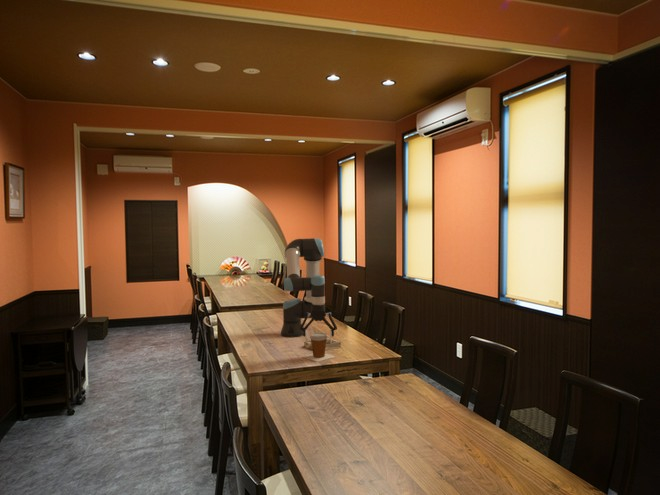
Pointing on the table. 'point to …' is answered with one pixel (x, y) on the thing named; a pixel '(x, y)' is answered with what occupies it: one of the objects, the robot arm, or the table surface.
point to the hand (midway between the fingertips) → (318, 342)
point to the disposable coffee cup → (318, 344)
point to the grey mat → (319, 358)
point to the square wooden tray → (329, 345)
